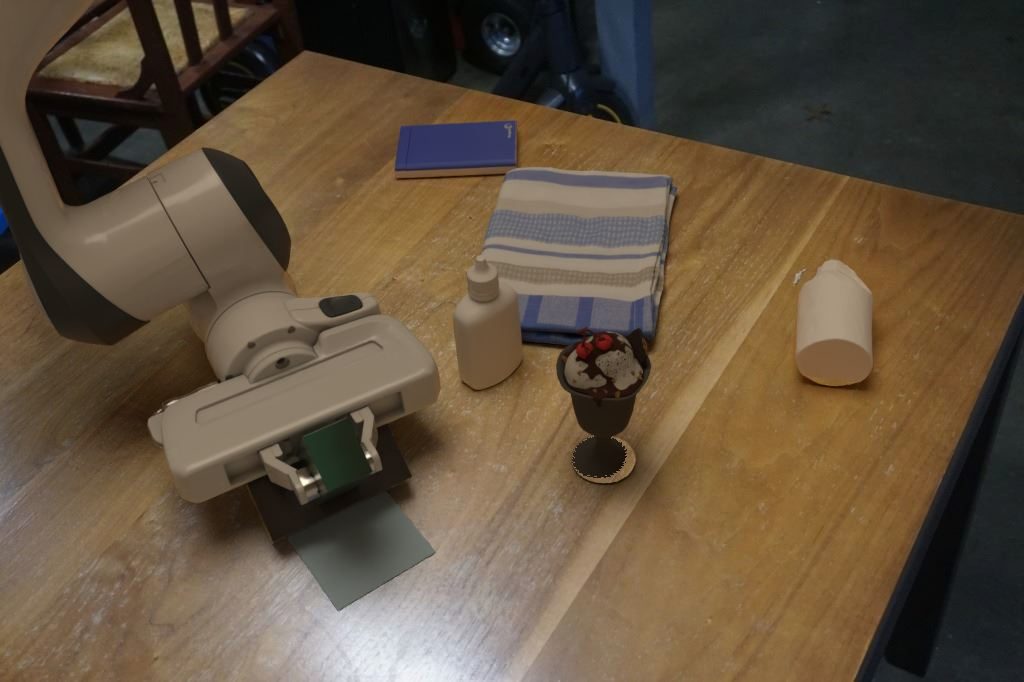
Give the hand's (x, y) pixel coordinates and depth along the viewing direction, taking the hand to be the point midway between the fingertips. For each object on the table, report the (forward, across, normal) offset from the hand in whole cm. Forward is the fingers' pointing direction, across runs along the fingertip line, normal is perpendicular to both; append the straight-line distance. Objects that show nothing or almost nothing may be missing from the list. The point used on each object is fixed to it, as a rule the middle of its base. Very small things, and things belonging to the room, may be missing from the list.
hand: (341, 481), depth 75 cm
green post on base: (-5, 0, +5) cm, 7 cm away
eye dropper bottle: (-10, +16, +7) cm, 21 cm away
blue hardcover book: (-41, +28, +7) cm, 50 cm away
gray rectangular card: (-2, 0, +7) cm, 7 cm away
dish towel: (-19, +30, +7) cm, 36 cm away
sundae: (+3, +19, +7) cm, 21 cm away
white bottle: (+1, +43, +7) cm, 43 cm away
